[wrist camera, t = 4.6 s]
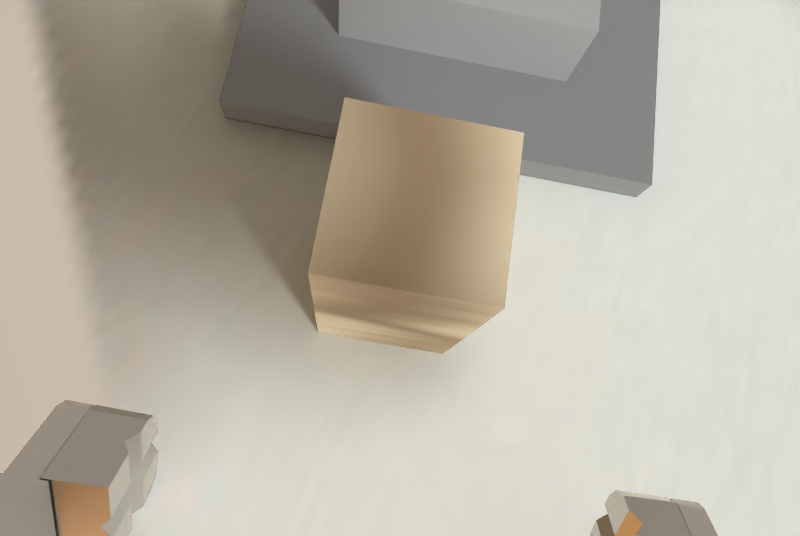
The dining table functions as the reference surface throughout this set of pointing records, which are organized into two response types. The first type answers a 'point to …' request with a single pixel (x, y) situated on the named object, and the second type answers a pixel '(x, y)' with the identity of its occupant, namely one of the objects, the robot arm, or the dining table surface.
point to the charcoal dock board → (465, 74)
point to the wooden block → (414, 227)
